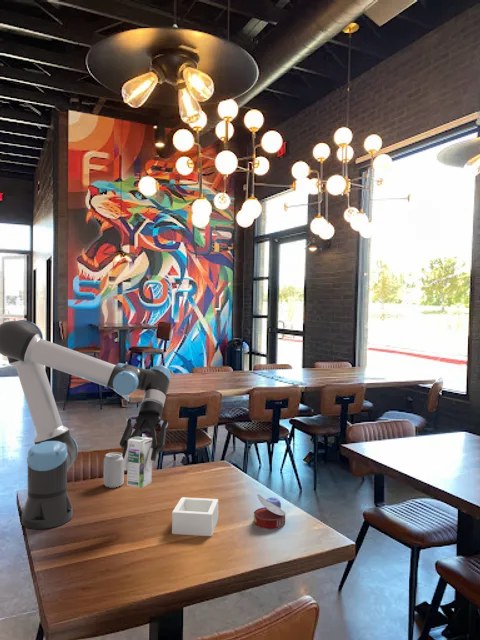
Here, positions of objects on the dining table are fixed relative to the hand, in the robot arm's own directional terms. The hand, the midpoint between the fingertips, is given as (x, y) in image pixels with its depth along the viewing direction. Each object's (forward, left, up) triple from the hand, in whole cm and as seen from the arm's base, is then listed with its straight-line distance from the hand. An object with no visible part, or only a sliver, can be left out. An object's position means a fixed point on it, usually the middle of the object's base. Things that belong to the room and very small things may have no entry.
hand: (135, 468), depth 151 cm
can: (+14, +37, -18) cm, 44 cm away
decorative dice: (+40, -21, -18) cm, 48 cm away
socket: (+14, -12, -18) cm, 26 cm away
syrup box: (+3, +2, -6) cm, 7 cm away
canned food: (+33, -26, -18) cm, 46 cm away
